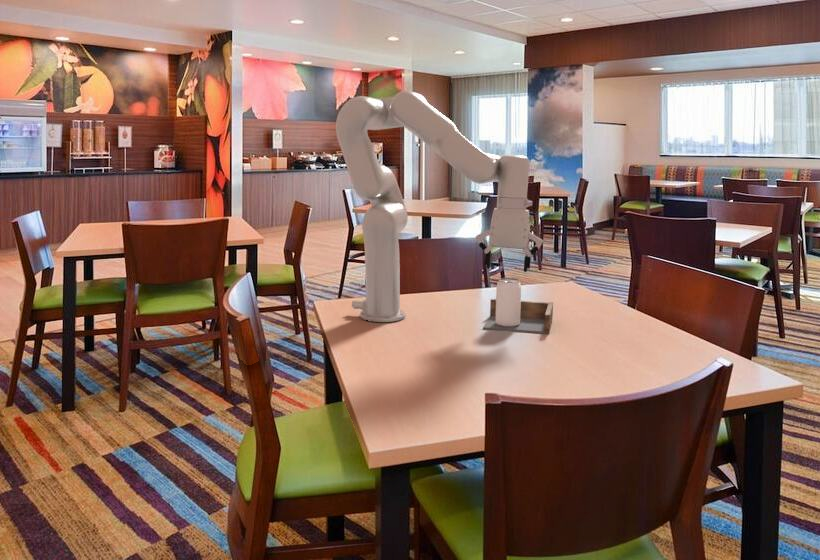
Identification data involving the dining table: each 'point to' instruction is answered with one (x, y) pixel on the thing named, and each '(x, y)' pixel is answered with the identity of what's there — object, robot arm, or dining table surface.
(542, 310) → the corner walls
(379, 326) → the dining table surface
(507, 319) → the can
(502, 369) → the dining table surface
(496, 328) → the mat
